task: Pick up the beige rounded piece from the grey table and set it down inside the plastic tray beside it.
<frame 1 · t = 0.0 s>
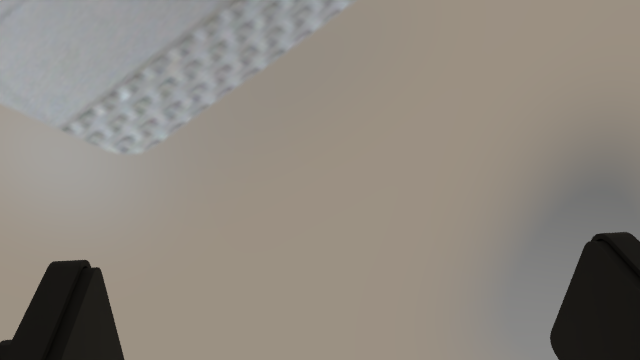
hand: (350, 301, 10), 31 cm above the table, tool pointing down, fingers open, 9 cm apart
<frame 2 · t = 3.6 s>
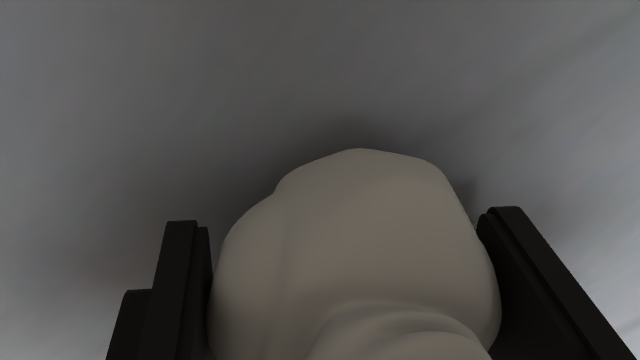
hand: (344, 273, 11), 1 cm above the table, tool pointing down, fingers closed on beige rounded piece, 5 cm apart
beige rounded piece: (333, 233, 12), on the table, touching gripper
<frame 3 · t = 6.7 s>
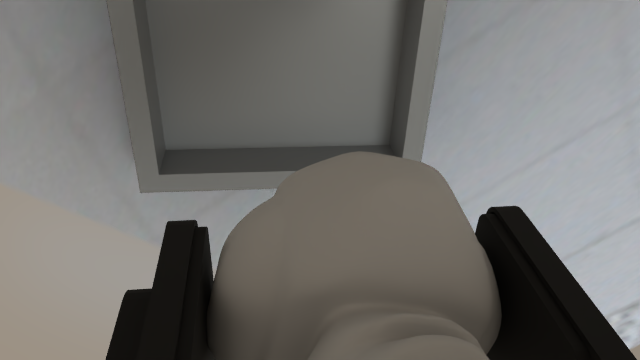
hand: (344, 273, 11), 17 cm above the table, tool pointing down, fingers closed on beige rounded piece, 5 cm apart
beige rounded piece: (333, 235, 12), point 16 cm above the table, touching gripper
tray: (279, 30, 25), on the table
when the fingers open (4 cm above the table, at t = 10.1 s): beige rounded piece drops 2 cm, resting on tray.
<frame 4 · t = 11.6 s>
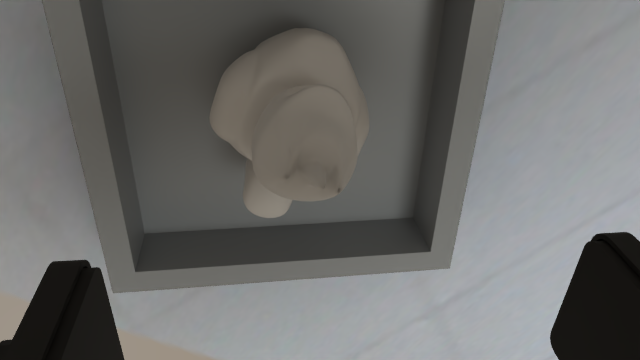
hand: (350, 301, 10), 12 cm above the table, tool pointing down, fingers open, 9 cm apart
beige rounded piece: (283, 97, 20), point 1 cm above the table, touching tray
tray: (280, 90, 21), on the table
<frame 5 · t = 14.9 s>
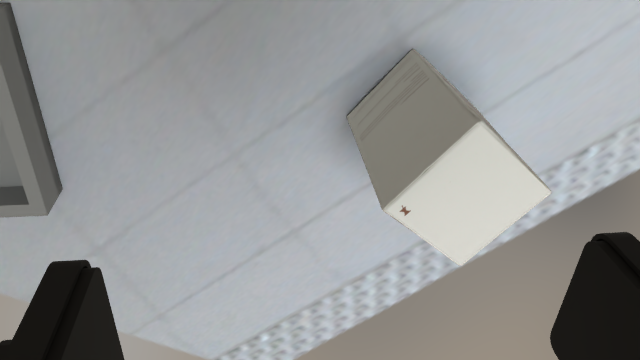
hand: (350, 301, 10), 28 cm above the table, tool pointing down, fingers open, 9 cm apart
supplement box: (409, 109, 40), on the table
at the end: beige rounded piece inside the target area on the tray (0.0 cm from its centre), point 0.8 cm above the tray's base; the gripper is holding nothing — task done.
